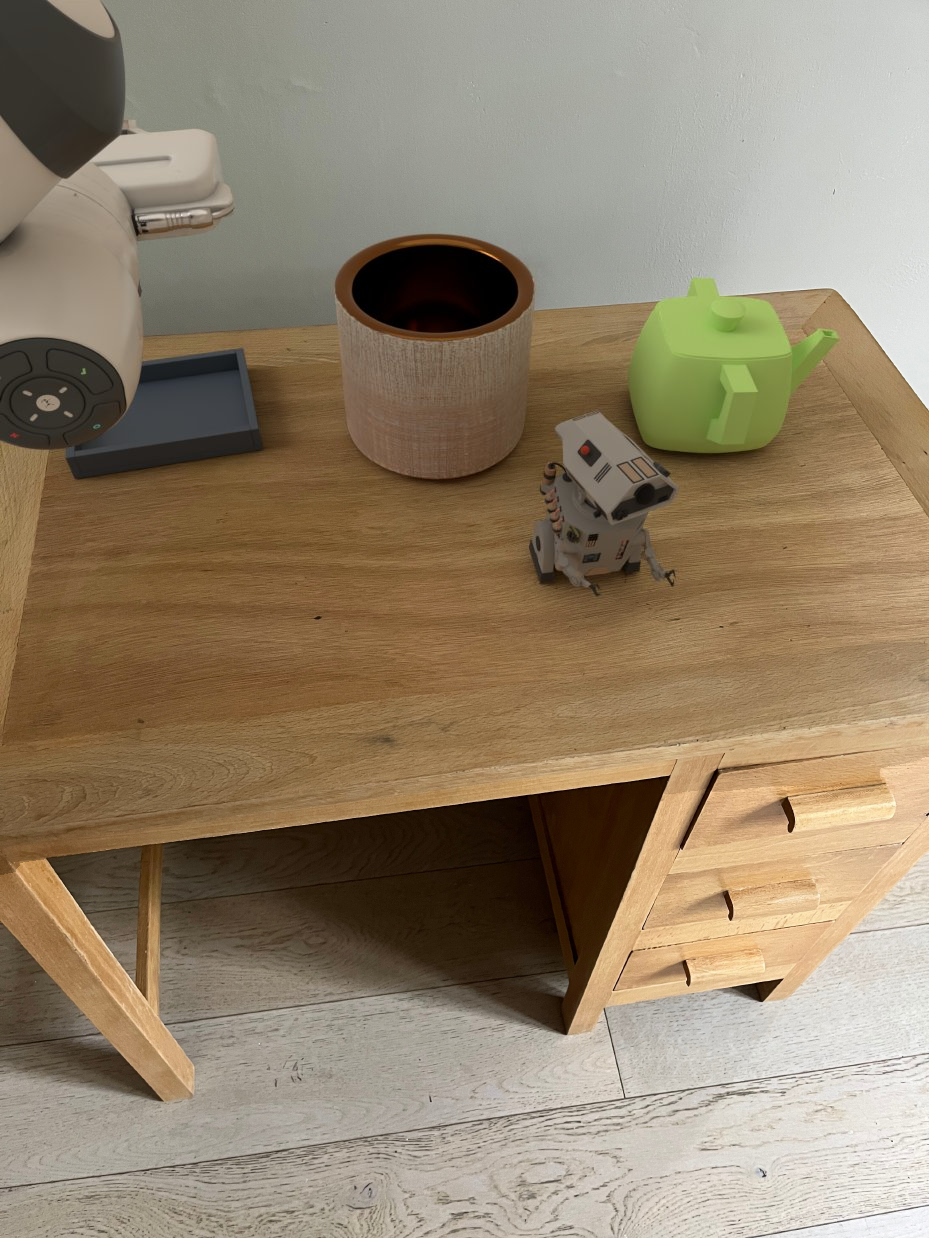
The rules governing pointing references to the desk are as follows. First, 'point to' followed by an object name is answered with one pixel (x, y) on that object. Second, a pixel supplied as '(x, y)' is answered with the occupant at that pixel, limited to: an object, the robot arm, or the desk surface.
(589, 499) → the figurine
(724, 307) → the teapot
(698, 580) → the desk surface
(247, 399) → the tray
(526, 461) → the desk surface
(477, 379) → the planter
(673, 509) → the desk surface
